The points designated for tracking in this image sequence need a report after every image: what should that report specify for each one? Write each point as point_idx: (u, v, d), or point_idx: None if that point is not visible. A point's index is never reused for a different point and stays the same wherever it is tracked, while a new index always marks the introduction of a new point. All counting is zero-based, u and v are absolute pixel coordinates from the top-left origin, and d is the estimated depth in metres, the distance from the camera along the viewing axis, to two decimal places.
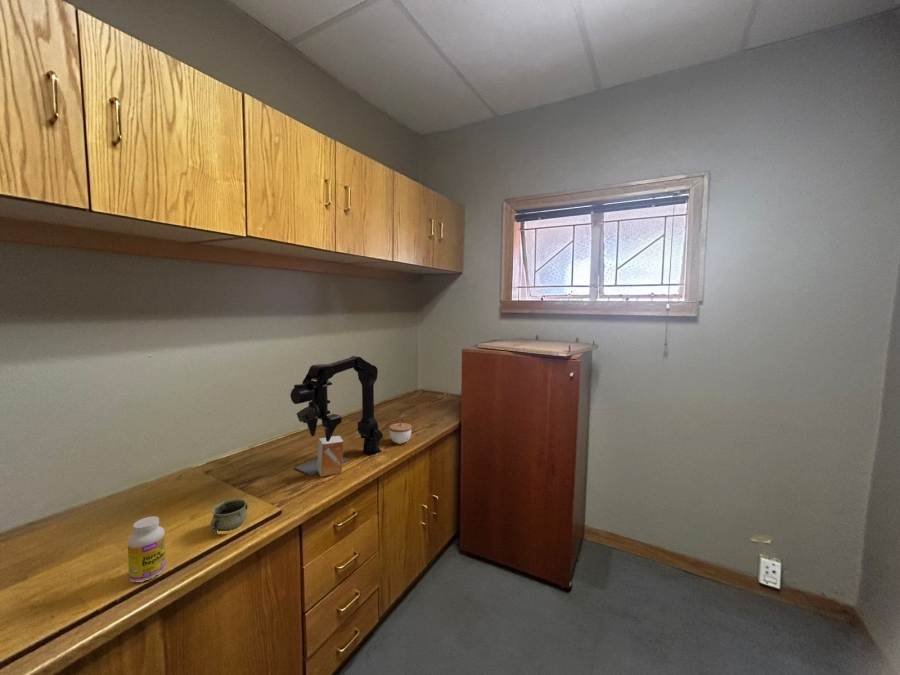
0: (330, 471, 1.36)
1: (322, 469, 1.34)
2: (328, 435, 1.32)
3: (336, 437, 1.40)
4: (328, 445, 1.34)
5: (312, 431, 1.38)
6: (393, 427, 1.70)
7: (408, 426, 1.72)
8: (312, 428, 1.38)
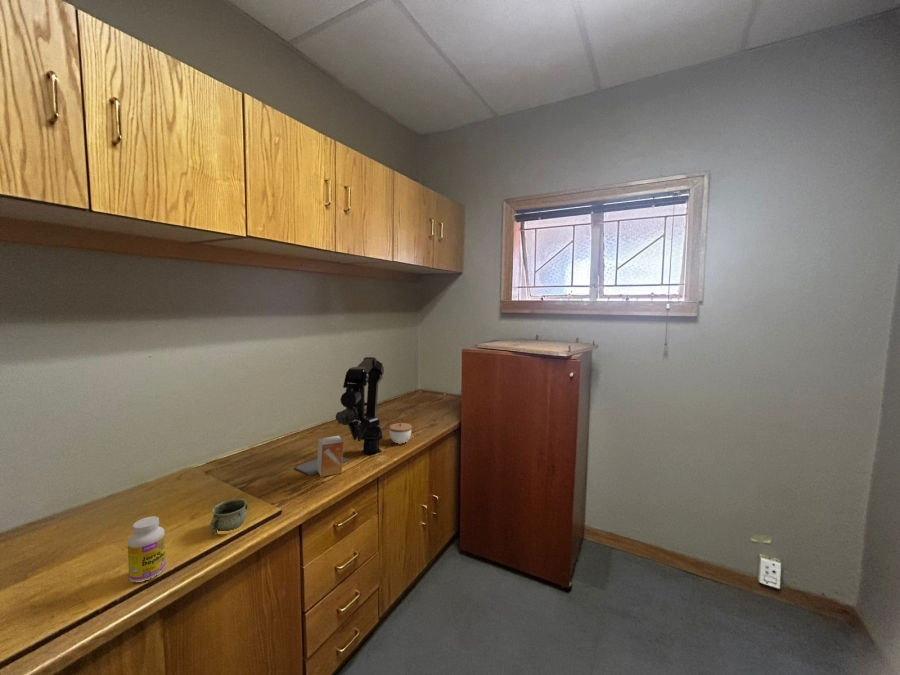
0: (330, 471, 1.36)
1: (322, 469, 1.34)
2: (360, 435, 1.36)
3: (336, 437, 1.40)
4: (328, 446, 1.34)
5: (354, 435, 1.38)
6: (393, 427, 1.70)
7: (408, 426, 1.72)
8: (354, 431, 1.39)
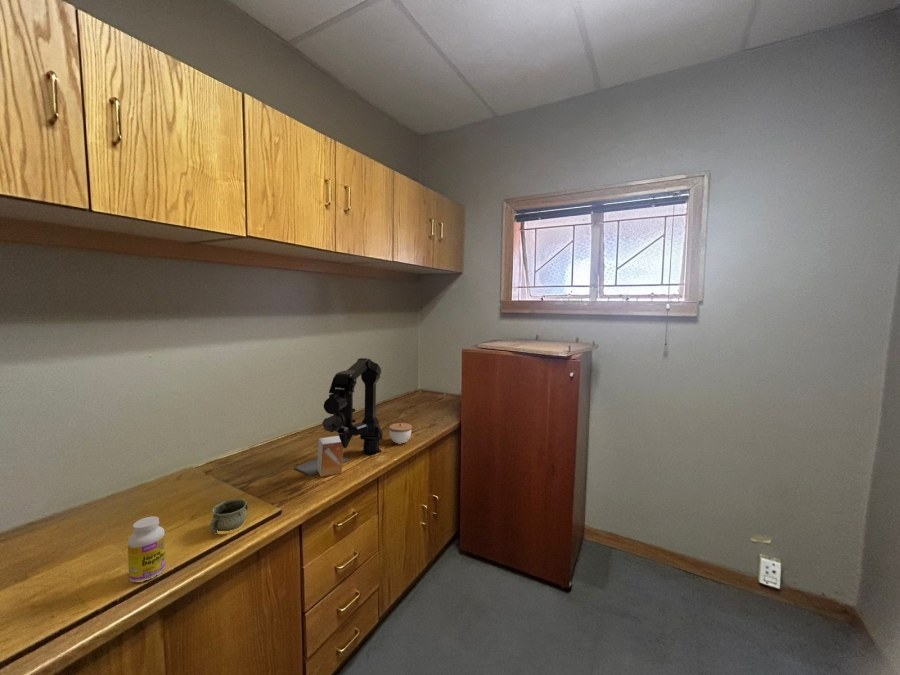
0: (330, 471, 1.36)
1: (322, 469, 1.34)
2: (346, 442, 1.32)
3: (336, 437, 1.40)
4: (328, 445, 1.34)
5: None
6: (393, 427, 1.70)
7: (408, 426, 1.72)
8: None
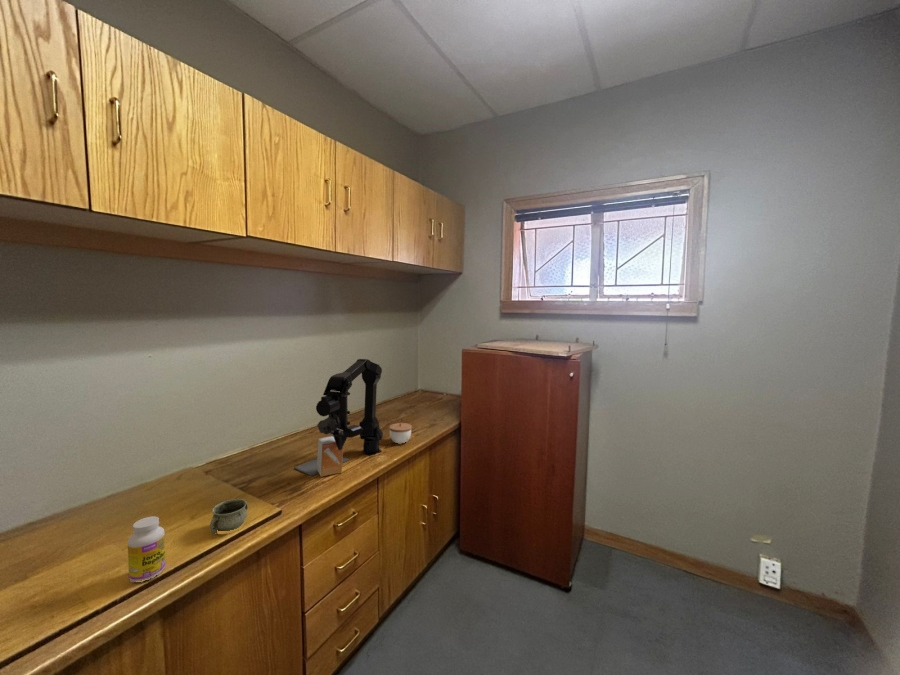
0: (330, 471, 1.36)
1: (322, 469, 1.34)
2: (341, 444, 1.34)
3: None
4: (328, 445, 1.34)
5: None
6: (393, 427, 1.70)
7: (408, 426, 1.72)
8: None
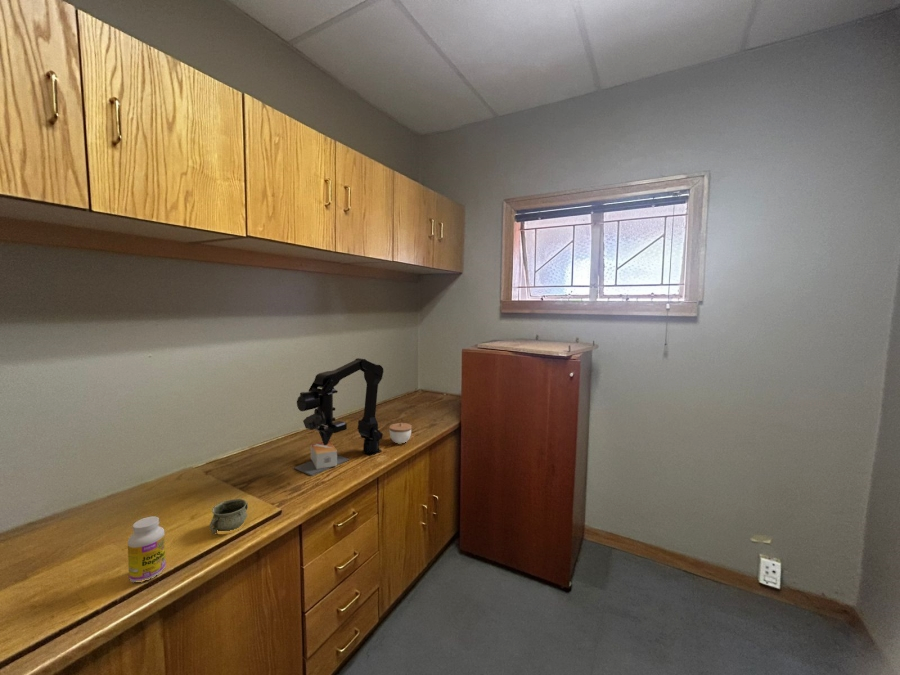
0: (324, 451, 1.42)
1: (316, 451, 1.42)
2: (326, 439, 1.38)
3: None
4: (316, 443, 1.51)
5: None
6: (393, 427, 1.70)
7: (408, 426, 1.72)
8: None
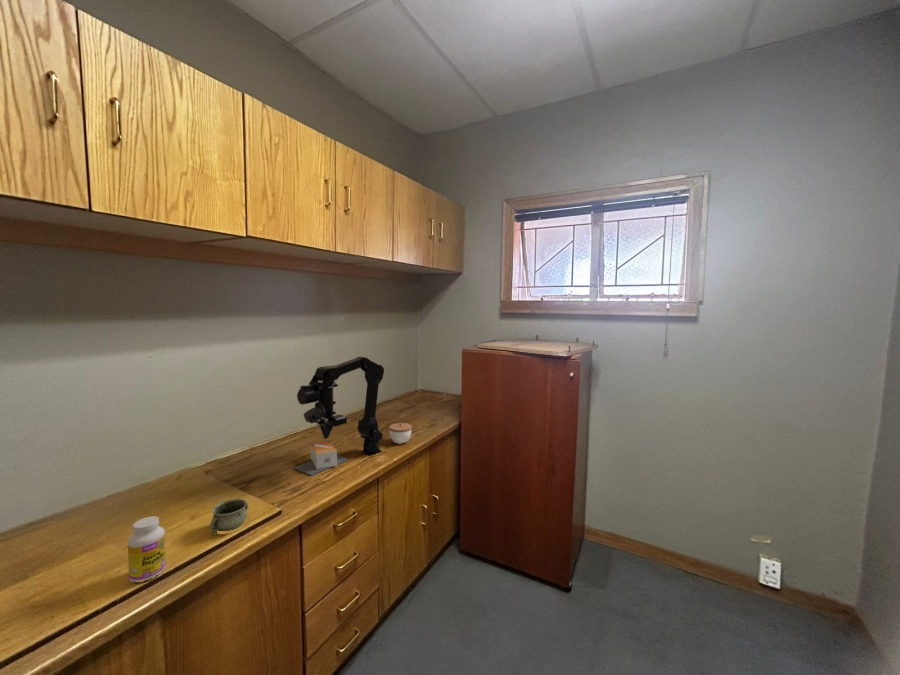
0: (324, 451, 1.42)
1: (316, 451, 1.42)
2: (326, 433, 1.39)
3: None
4: (315, 443, 1.51)
5: None
6: (393, 427, 1.70)
7: (408, 426, 1.72)
8: None
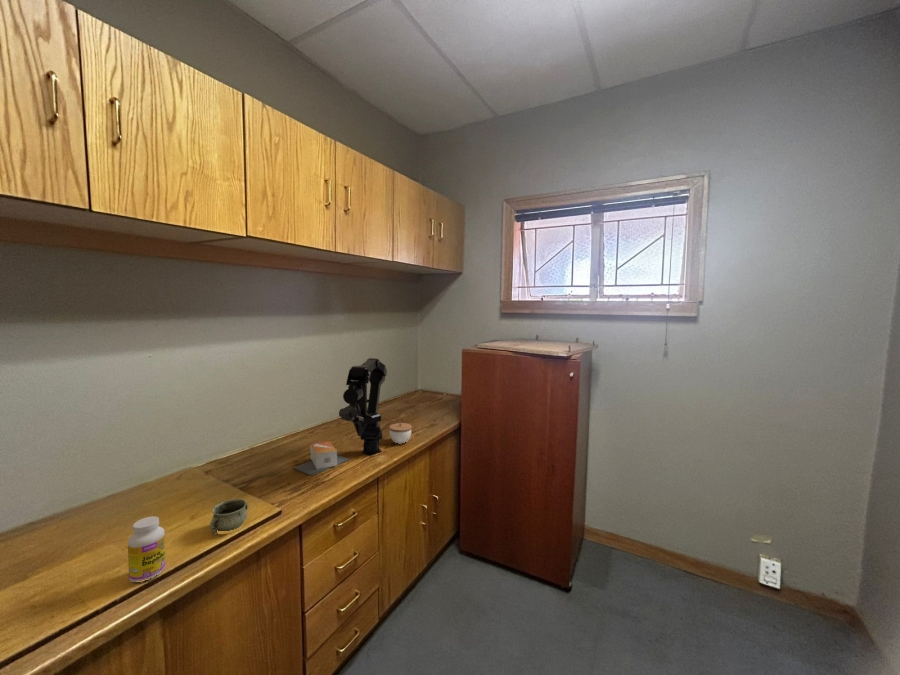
0: (324, 451, 1.42)
1: (316, 451, 1.42)
2: (360, 430, 1.42)
3: None
4: (315, 443, 1.51)
5: None
6: (393, 427, 1.70)
7: (408, 426, 1.72)
8: None
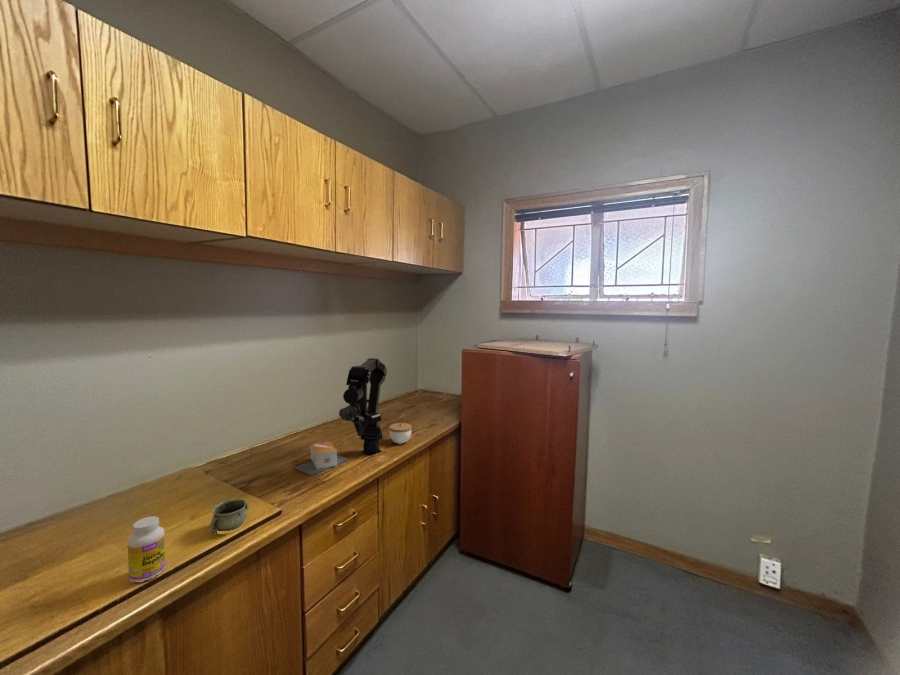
0: (324, 451, 1.42)
1: (316, 451, 1.42)
2: (360, 430, 1.42)
3: None
4: (315, 443, 1.51)
5: None
6: (393, 427, 1.70)
7: (408, 426, 1.72)
8: None
